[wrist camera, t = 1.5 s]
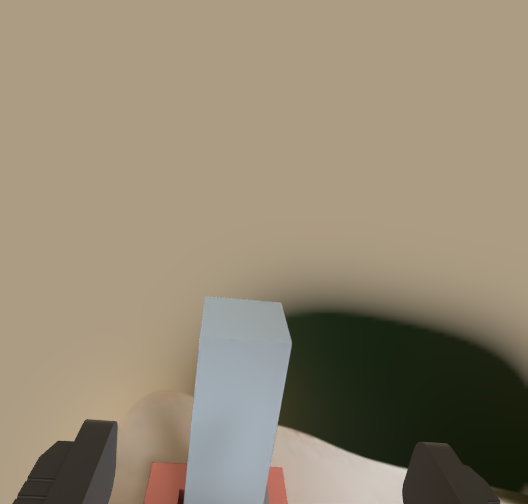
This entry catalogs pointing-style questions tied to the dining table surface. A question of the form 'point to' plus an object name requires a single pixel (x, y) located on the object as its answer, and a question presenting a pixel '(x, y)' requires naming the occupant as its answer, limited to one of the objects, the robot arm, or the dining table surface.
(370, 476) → the dining table surface
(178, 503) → the pink square holder
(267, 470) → the pale blue tall pillar
